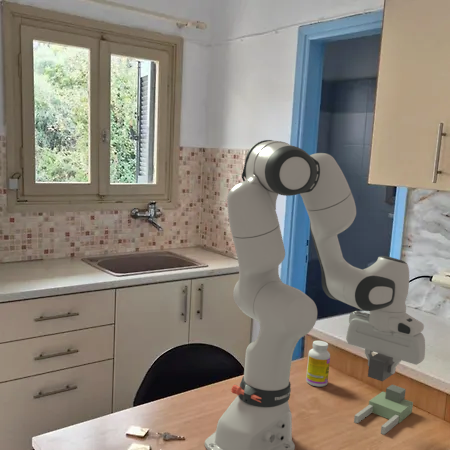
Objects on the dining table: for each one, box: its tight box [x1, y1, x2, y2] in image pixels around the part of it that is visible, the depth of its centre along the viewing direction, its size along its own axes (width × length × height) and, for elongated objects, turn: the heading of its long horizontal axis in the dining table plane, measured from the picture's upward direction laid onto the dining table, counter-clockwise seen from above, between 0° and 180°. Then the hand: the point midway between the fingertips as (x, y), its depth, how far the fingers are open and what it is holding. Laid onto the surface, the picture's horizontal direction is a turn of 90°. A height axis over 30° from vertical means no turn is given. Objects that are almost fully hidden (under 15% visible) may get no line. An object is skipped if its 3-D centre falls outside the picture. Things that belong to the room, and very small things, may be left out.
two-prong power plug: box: [353, 384, 414, 436], centre depth 141 cm, size 18×9×6 cm, turn 139°
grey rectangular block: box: [367, 353, 395, 382], centre depth 135 cm, size 7×4×5 cm, turn 139°
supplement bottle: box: [305, 340, 331, 387], centre depth 160 cm, size 7×7×13 cm
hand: (381, 369), depth 136 cm, fingers closed on grey rectangular block, 4 cm apart
